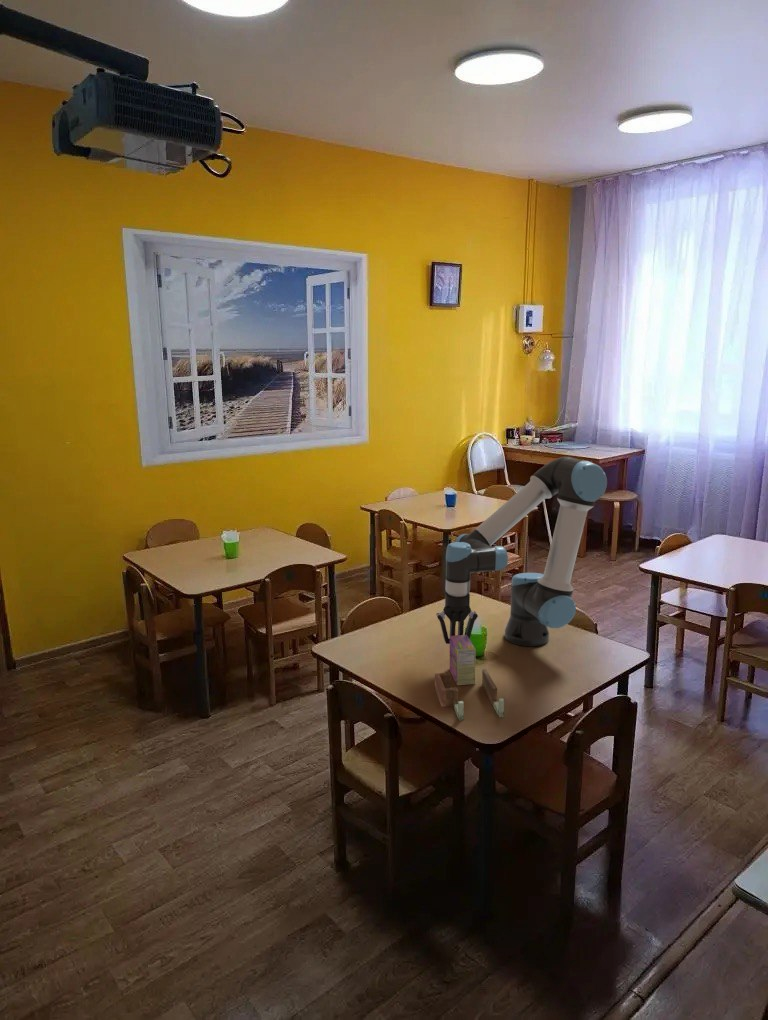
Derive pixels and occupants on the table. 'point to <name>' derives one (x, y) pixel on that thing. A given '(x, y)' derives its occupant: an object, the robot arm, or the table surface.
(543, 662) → the table surface
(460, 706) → the kerbs
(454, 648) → the box
